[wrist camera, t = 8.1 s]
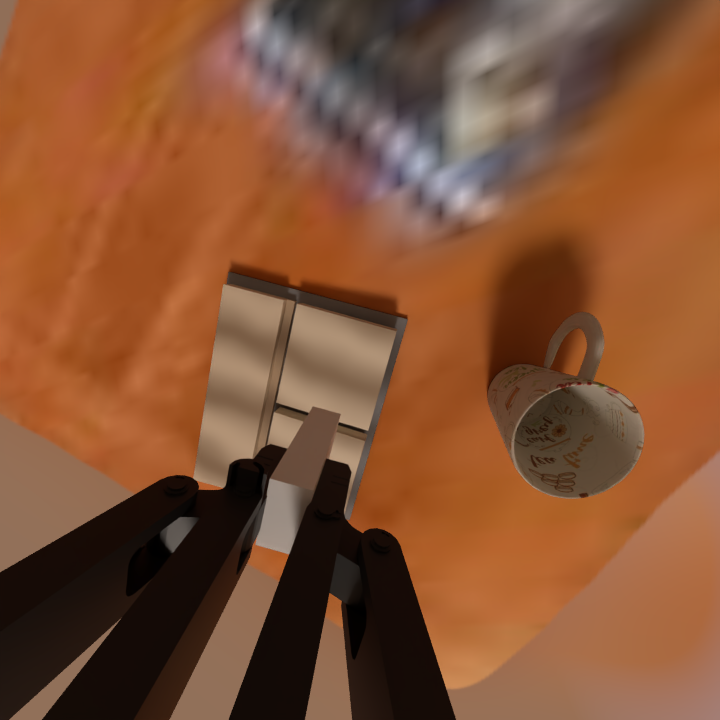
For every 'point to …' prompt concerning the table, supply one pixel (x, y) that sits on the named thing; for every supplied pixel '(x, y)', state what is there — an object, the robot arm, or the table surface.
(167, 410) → the table surface
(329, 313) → the plank
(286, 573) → the robot arm
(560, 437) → the mug
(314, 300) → the laid row
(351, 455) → the plank
